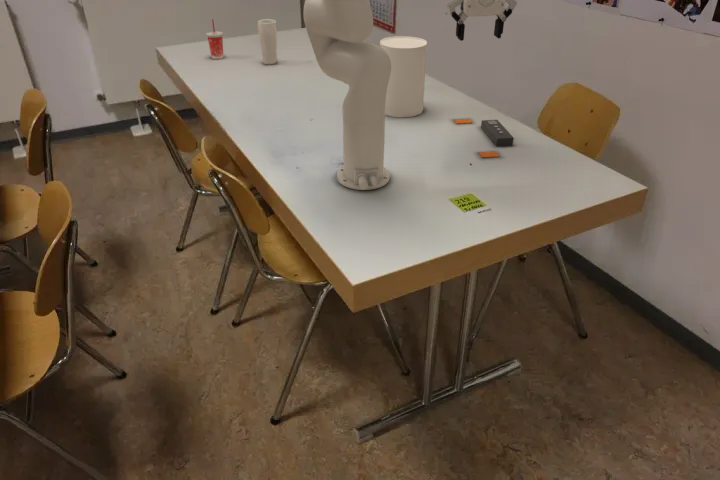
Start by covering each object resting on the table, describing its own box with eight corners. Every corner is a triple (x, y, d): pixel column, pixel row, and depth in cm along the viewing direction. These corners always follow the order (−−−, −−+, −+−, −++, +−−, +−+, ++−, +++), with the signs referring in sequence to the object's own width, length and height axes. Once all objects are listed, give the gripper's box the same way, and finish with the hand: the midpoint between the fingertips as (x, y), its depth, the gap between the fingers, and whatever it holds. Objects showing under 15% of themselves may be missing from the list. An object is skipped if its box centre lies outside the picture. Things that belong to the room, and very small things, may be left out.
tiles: (499, 157, 147) (499, 155, 147) (482, 158, 146) (482, 157, 146) (469, 119, 168) (469, 118, 168) (453, 120, 168) (454, 119, 168)
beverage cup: (208, 55, 223) (203, 18, 215) (224, 54, 224) (220, 17, 217) (210, 60, 218) (204, 21, 210) (226, 58, 219) (221, 20, 212)
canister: (371, 104, 178) (372, 38, 167) (411, 99, 182) (414, 34, 171) (388, 119, 168) (391, 50, 157) (430, 113, 172) (435, 45, 161)
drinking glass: (258, 61, 217) (254, 20, 208) (275, 59, 219) (272, 18, 211) (264, 66, 211) (260, 24, 203) (281, 64, 214) (278, 22, 206)
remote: (512, 145, 153) (514, 136, 152) (496, 146, 152) (497, 137, 151) (496, 126, 164) (497, 118, 162) (480, 127, 163) (481, 119, 162)
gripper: (455, -33, 130) (449, 44, 140) (527, -36, 132) (517, 40, 142) (446, -38, 136) (441, 36, 146) (515, -41, 138) (506, 32, 148)
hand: (478, 38), depth 144 cm, fingers open, 9 cm apart
